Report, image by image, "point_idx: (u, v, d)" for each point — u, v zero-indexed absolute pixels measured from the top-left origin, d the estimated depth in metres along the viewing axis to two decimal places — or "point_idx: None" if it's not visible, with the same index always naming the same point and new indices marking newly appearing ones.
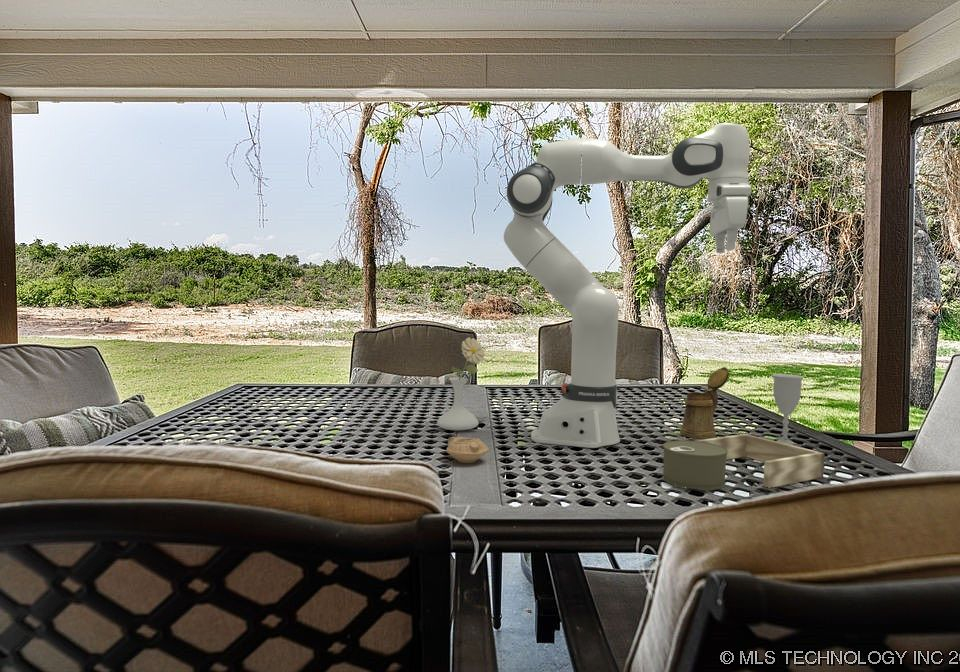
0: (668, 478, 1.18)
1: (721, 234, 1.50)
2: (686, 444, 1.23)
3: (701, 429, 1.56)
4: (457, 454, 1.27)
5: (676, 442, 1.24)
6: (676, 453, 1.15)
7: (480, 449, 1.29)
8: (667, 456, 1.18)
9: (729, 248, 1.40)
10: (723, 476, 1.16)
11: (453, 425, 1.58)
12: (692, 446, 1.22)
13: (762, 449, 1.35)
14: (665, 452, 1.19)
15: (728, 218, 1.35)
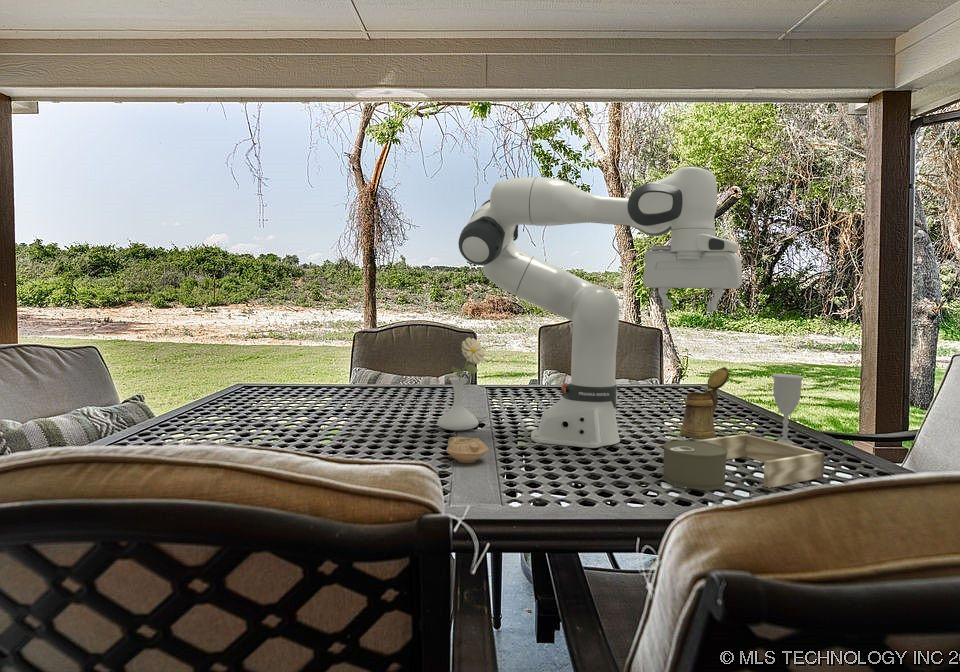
0: (668, 478, 1.18)
1: (666, 287, 1.32)
2: (686, 444, 1.23)
3: (701, 429, 1.56)
4: (457, 454, 1.27)
5: (676, 442, 1.24)
6: (676, 453, 1.15)
7: (480, 449, 1.29)
8: (667, 456, 1.18)
9: (714, 309, 1.25)
10: (723, 476, 1.16)
11: (453, 425, 1.58)
12: (692, 446, 1.22)
13: (762, 449, 1.35)
14: (665, 452, 1.19)
15: (736, 278, 1.21)
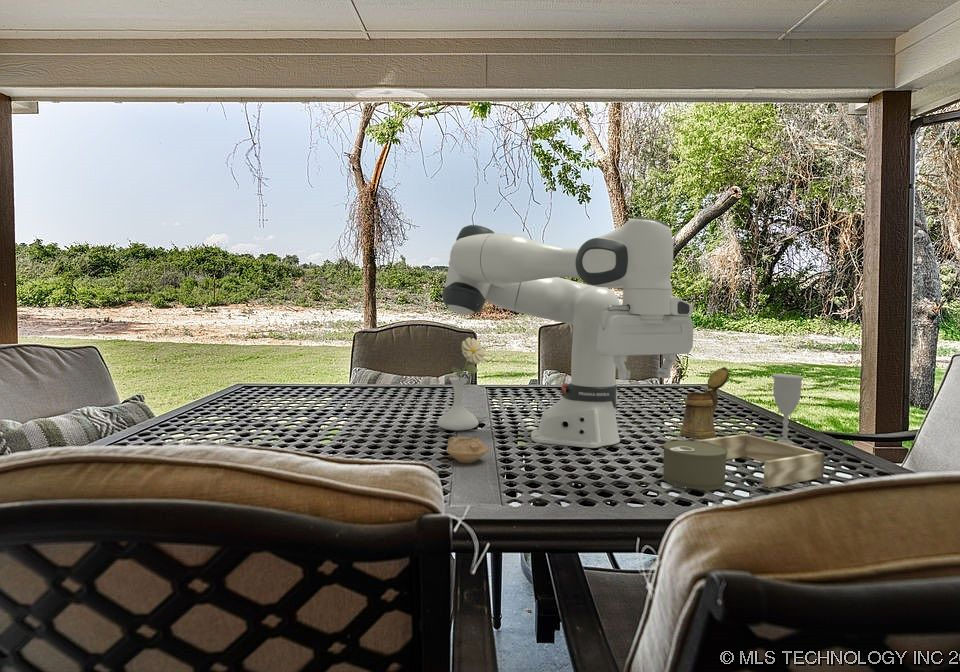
0: (668, 478, 1.18)
1: None
2: (686, 444, 1.23)
3: (701, 429, 1.56)
4: (457, 454, 1.27)
5: (676, 442, 1.24)
6: (676, 453, 1.15)
7: (480, 449, 1.29)
8: (667, 456, 1.18)
9: None
10: (723, 476, 1.16)
11: (453, 425, 1.58)
12: (692, 446, 1.22)
13: (762, 449, 1.35)
14: (665, 452, 1.19)
15: (692, 343, 1.15)
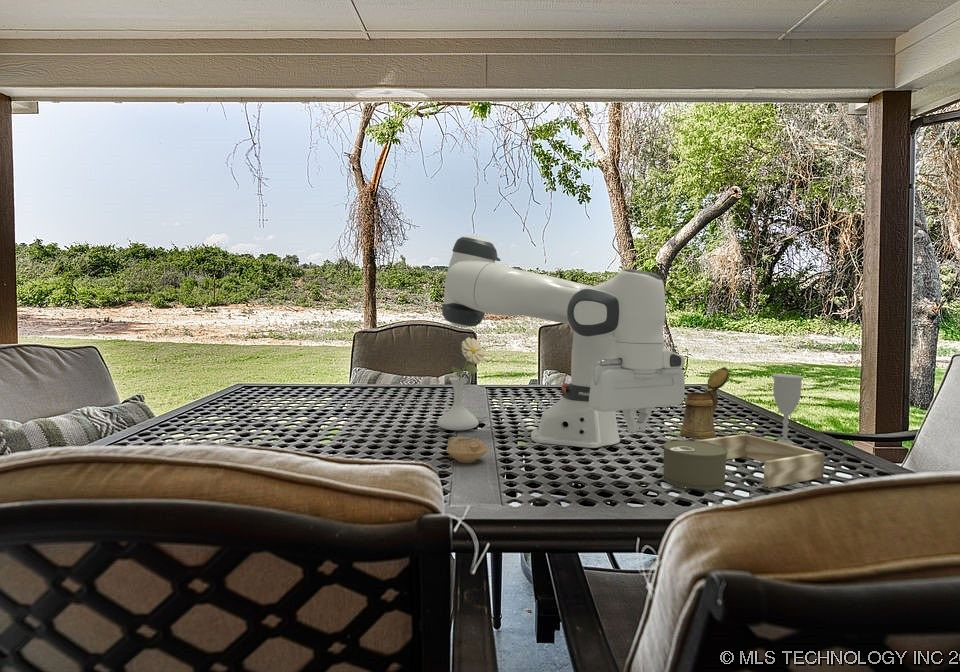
0: (668, 478, 1.18)
1: None
2: (686, 444, 1.23)
3: (701, 429, 1.56)
4: (456, 454, 1.27)
5: (676, 442, 1.24)
6: (676, 453, 1.15)
7: (480, 449, 1.29)
8: (667, 456, 1.18)
9: None
10: (723, 476, 1.16)
11: (453, 425, 1.58)
12: (692, 446, 1.22)
13: (762, 449, 1.35)
14: (665, 452, 1.19)
15: (683, 395, 1.14)
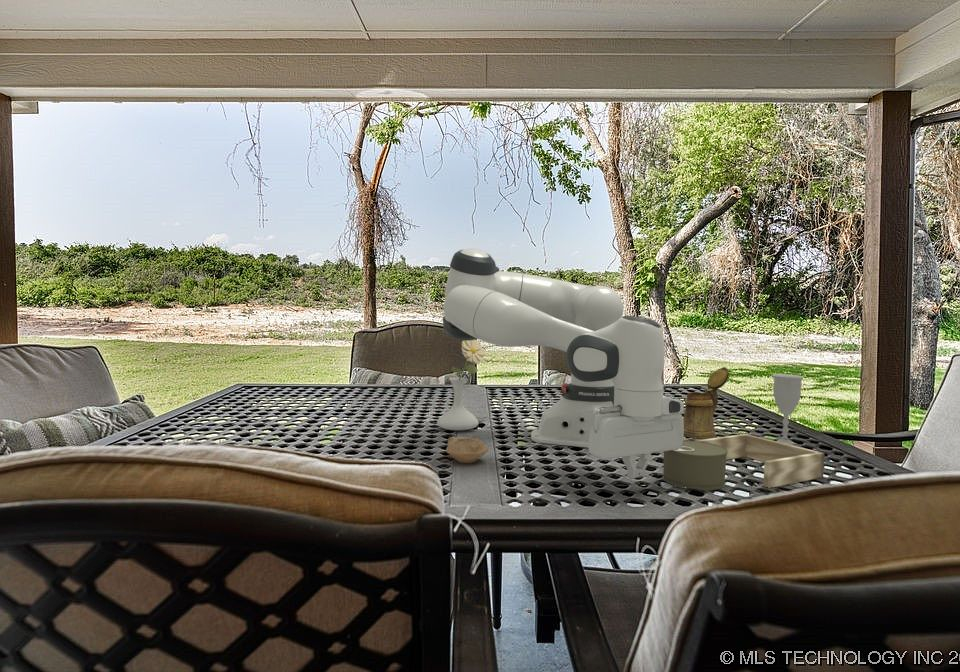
0: (668, 478, 1.18)
1: None
2: (686, 444, 1.23)
3: (701, 429, 1.56)
4: (456, 454, 1.27)
5: None
6: (676, 453, 1.15)
7: (480, 449, 1.29)
8: (667, 456, 1.18)
9: None
10: (723, 476, 1.16)
11: (453, 425, 1.58)
12: (692, 446, 1.22)
13: (762, 449, 1.35)
14: (665, 452, 1.19)
15: (682, 439, 1.15)
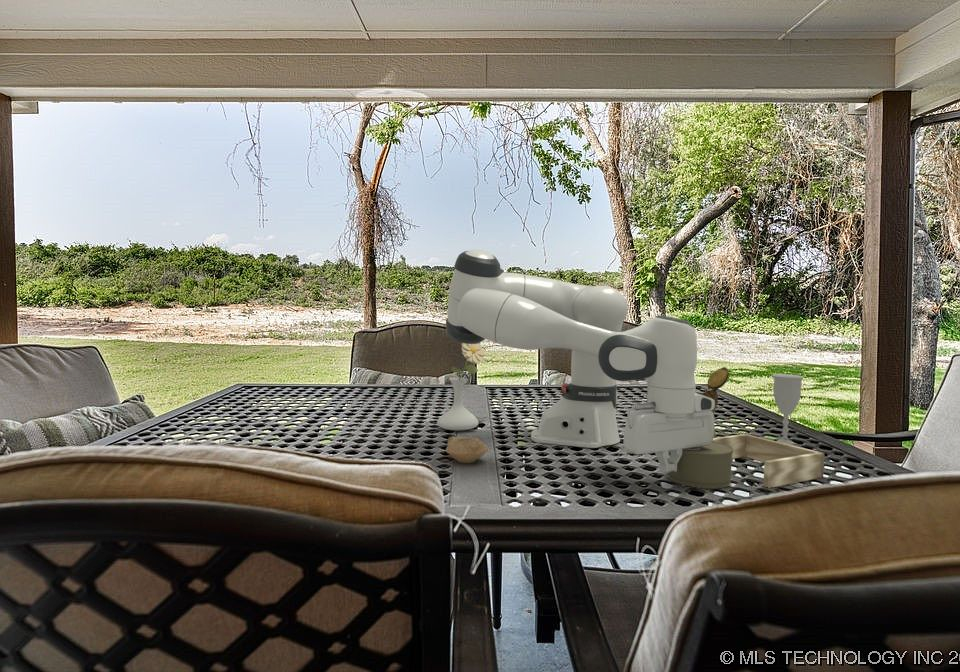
0: (674, 476, 1.19)
1: None
2: None
3: None
4: (456, 454, 1.27)
5: None
6: (682, 451, 1.16)
7: (479, 449, 1.29)
8: None
9: None
10: (729, 474, 1.16)
11: (453, 425, 1.58)
12: None
13: (762, 449, 1.35)
14: None
15: (713, 435, 1.19)
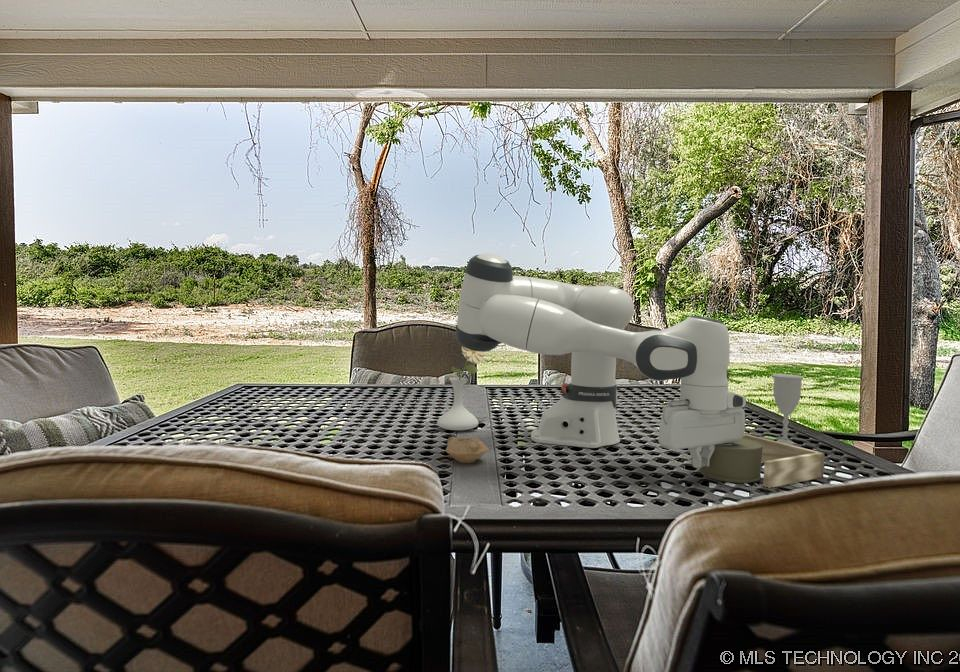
0: (706, 471, 1.23)
1: None
2: None
3: None
4: (456, 454, 1.27)
5: None
6: (715, 447, 1.20)
7: (479, 449, 1.29)
8: None
9: None
10: (759, 469, 1.20)
11: (453, 425, 1.58)
12: None
13: (762, 449, 1.35)
14: None
15: None
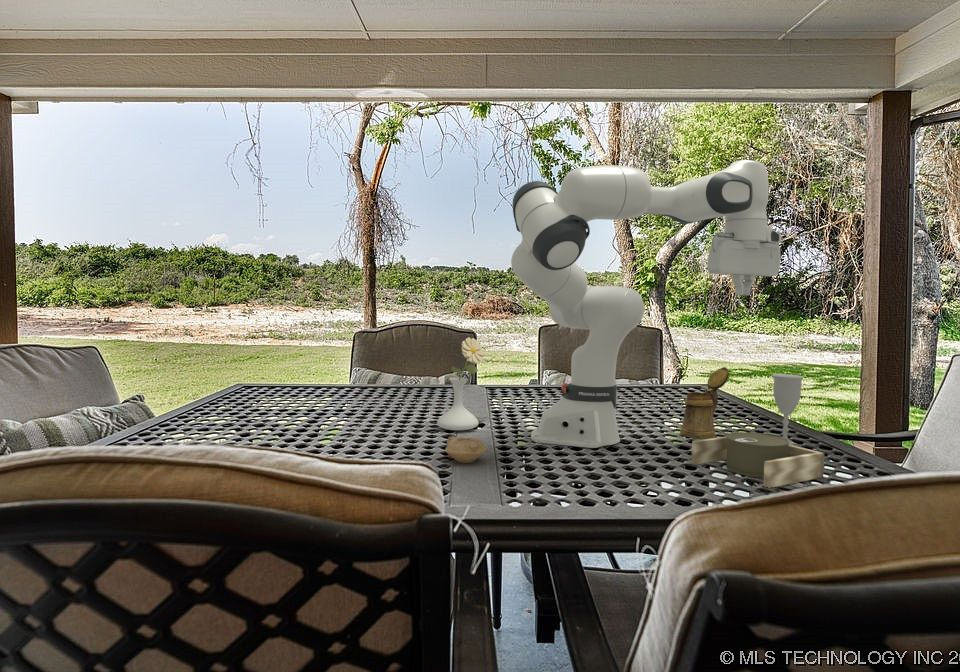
0: (733, 467, 1.26)
1: None
2: (747, 436, 1.31)
3: (701, 429, 1.56)
4: (456, 454, 1.27)
5: (736, 434, 1.33)
6: (742, 444, 1.24)
7: (479, 449, 1.29)
8: (732, 447, 1.26)
9: None
10: None
11: (453, 425, 1.58)
12: (753, 437, 1.30)
13: None
14: (730, 443, 1.27)
15: (779, 267, 1.40)
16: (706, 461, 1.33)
